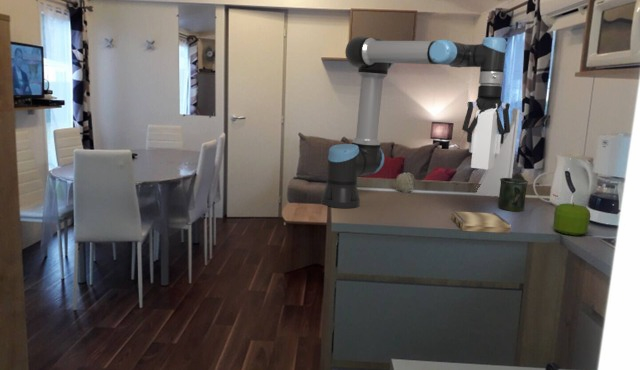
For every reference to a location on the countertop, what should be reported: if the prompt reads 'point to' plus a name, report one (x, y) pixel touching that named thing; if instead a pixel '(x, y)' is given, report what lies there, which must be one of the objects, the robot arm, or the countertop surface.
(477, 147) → the milk
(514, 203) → the mug
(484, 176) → the white bracket plate
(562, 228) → the apple
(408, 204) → the countertop surface
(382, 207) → the countertop surface
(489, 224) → the dock
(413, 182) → the grey-green ball
